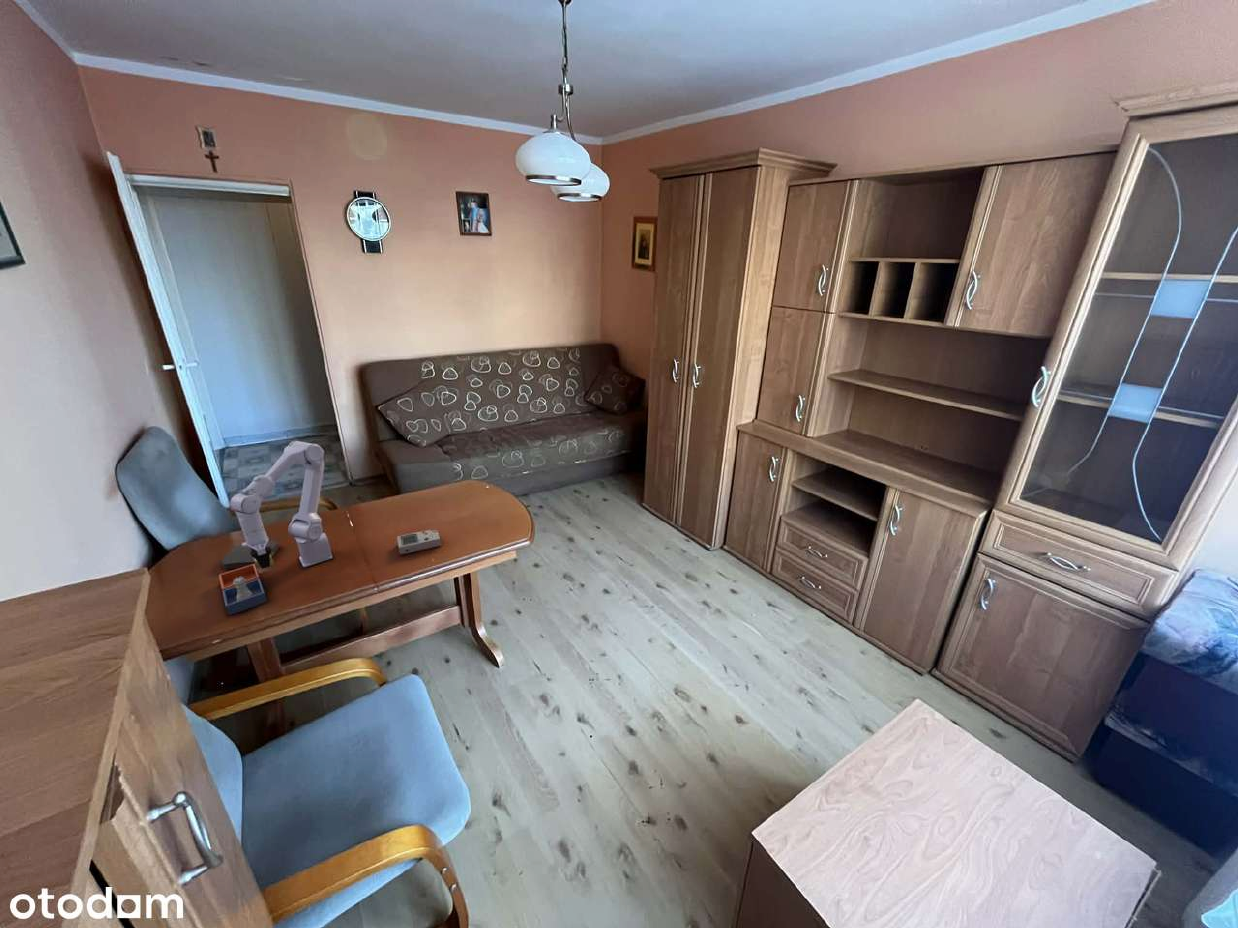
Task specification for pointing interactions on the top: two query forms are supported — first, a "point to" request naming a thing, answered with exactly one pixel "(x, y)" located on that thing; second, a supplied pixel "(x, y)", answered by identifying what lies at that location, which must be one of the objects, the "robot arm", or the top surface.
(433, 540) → the handheld gaming device
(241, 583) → the rook chess piece
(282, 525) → the top surface
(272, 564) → the beech block
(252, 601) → the blue bin
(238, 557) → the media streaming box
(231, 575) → the terracotta bin
